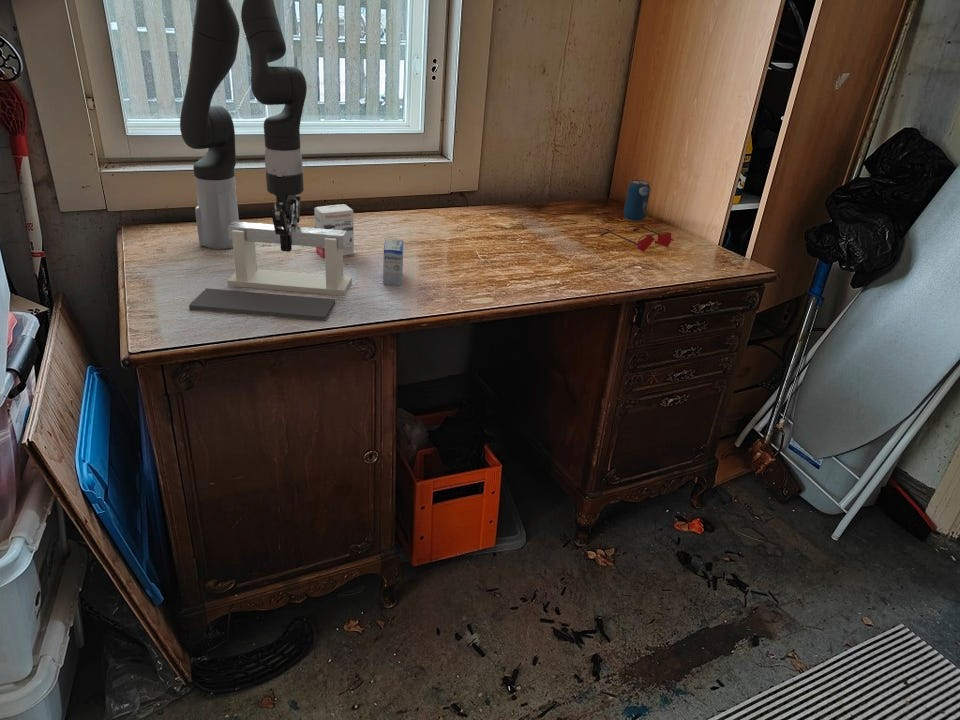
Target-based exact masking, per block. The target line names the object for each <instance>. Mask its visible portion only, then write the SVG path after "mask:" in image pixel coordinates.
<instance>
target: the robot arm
mask: <svg viewBox="0 0 960 720" xmlns="http://www.w3.org/2000/svg"><path fill="white" fill-rule="evenodd" d="M195 3H196V4H195V10H194V18H193V24H192V25H193V26H192V34H191V47H190V48H191V49H190V60H189V69H188V77H187V81H186V86H185V92H184V97H183V101H182V106H181V112H180V116H179V117H180V119H179V127H180V128H179V129H180V134H181V137H182V140H183V142H184V143H185V145H186V146H187V147H188V148H191V149H193V150H205V149H208V150H207V152H206V153H205V154H204V156H203V157H201V158H200V159H199V160H197V161H196V162H195V163H194V164H193V176H194V183H195V190H196V191H195V192H196V200H197V206H195V208H194V211H195V219H196V221H195V222H196V227H197V236H198V244H199V246H203V247H206V248H209V249H215V250H225V249H233V241H232V240H229V232H228V226H229V225H230V224H231V223H232V222H234V221H236V222H240V218H239V210H238V209H239V208H238V198H237V188H236V177H235V167H236V163H237V159H236V158H237V157H236V156H237V155H236V154H237V153H236V135H235V133H236V132H235V125H234V121H233V119H232V118H233V117H232V116H231V114H230V111H228V109H226V107H224V106H222V105H219V104H218V105H215V104H214V105H211V103H212V100H213V96H214V94H215V93H216V90H217V89H218V88H219V86H220V85H221V83H222V82H223V80H224V79H225V78H226V77H227V75H228V74H229V73H230V70H231V69H232V68H233V66H234V64H235V62H236V59H237V53H238V46H239V41H240V40H239V39H240V33H241V32H240V25H239V20H238V19H237V15H236V14H235V11H234V8H233V6H232V4H231V3H230V0H196V1H195ZM241 4H242V5H241V10H240V11H241V12H240V14H241V15H240V17H241V24H242V28H243V31H244V35H245V38H246V42H247V44H248V49H249V54H250V55H249V57H250V67H251V68H250V70H251V71H250V75H251V76H250V89H251V92H252V95H253V97H254V98H255V99H256V101H258V102H259V103H260V104H261V105H264V106H265V105H266V106H272V105H273V106H276V105H283V106H284V107H283V109H282V111H281V112H280V113H278V114H275V115H272V116H269V117H267V118H266V119H264V122H263V133H264V135H263V136H264V146H265V147H264V148H265V149H264V164H265V165H264V166H265V168H264V169H265V179H266V190H267V192H268V193H269V194H272V195H274V196H275V202H274V209H273V210H271V213H270V215H271V218H272V225H274V228H275V233H276V234H277V235H278V234H279V235H280V244H279V245H280V250H281V251H282V252H286V253H287V252H288V253H290V252H291V251H292V250H293V245H291V226H295V227H299V225H298V224H299V223H300V221H301V220H300V213H301V194H303V192H304V189H305V188H304V185H305V184H304V173H303V172H304V171H303V170H304V169H303V155H302V151H301V150H302V149H301V134H300V132H301V131H300V129H301V121H302V120H301V119H302V117H303V116H302V115H303V109H304V106H305V102H306V97H307V92H308V91H307V90H308V89H307V88H308V86H307V81H306V77H305V75H304V73H303V72H302V70H301V69H299V68H298V67H296V66H270V65H269V64H268V63H272V62H275V61H278V60H280V59H282V58H283V57H284V56H285V55H286V52H287V46H286V41H285V38H284V34H283V31H282V28H281V23H280V21H279V17H278V14H277V10H276V6H275V1H274V0H243V2H242V3H241ZM282 227H283V228H284V229H282Z"/></svg>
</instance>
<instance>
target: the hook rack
mask: <svg viewBox="0 0 960 720" xmlns="http://www.w3.org/2000/svg"><path fill="white" fill-rule="evenodd" d="M248 223H251V222H250V221H249V222H248ZM332 230H333V229H332ZM324 240H325V258H324V261H325V263H324V265H325V274H316V273H306V272H305V273H303V272H296V271H295V272H293V271H282V270H270V269H258V264H257V250H256V242H252V241H245V234H244V231H241V230H232V241H233V248H232V249H233V250H232V251H233V258H234V270H235V271H234V273H233V274H232V275H231V276H230V277H229V279H228V280H227V286H228V287H238V288H239V287H240V288H251V289H262V290H271V291H272V290H276V291H286V292H287V291H288V292H297V293H308V294H309V293H310V294H321V295H322V294H323V295H334V296H345V295H346V294H347V292H348V290H349V289H350V286H351V284H352V283H353V277H352V276H344V255H343V249H337V239H335V238H325V239H324Z"/></svg>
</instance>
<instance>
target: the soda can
mask: <svg viewBox="0 0 960 720" xmlns="http://www.w3.org/2000/svg"><path fill="white" fill-rule="evenodd" d="M650 192H651V186H650V182H649V181H648V180H643V179H632V180H630V183H629V185H628V187H627V192H626V198H625V203H624V209H623V216H624V219H625V220H626V221H629V222H635V223H636V222H642V221H643V220H644V219H645V218H646V213H647V208H648V203H649V202H648V201H649V198H650V194H651V193H650Z"/></svg>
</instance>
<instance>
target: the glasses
mask: <svg viewBox="0 0 960 720" xmlns="http://www.w3.org/2000/svg"><path fill="white" fill-rule="evenodd" d="M639 229H644V230H647V231H648V232H651V233H653V234H645V235H642V236H641V237H640V238H638V241H637V242H635V241H633V240H630V239H628V238H626V237H624V236H621V235H619V234H617V233H614V232H613V231H605V232H603V233H601V234H599V236H600V237H603V236H605V235H606V234H611V235H614V236H617V237H618V238H621V239H623V240H625V241H628V242H630V243H632V244H634V245H637V246H636V247H637V248H636V249H638V250H640V251H641V252H645V251H646V250H647V249H648V247H650V246H652V243H653V242H654V243H655V244H656V245H660V246H663V247H666V248H668V247H669V245H670V244H671V242H674V238H672V232H671V231H670V232H669V231H667V232H666V231H664V232H655V231H653V230H652V229H648V228H646V227H644V226H639V227H636V228H633V229H632V231H633V232H635V231H637V230H639ZM656 235H657V239H656V240H655V238H654V237H653V236H656Z"/></svg>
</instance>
